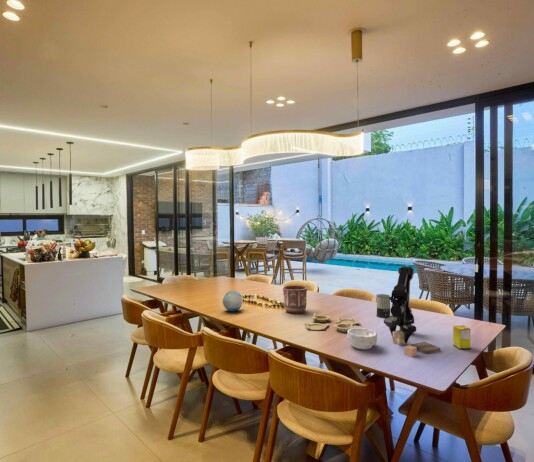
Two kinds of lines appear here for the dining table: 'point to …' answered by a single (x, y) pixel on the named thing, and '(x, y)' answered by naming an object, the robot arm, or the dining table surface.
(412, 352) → the terracotta cube
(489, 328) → the dining table surface
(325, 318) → the tableware set
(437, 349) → the walnut block
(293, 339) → the dining table surface
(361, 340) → the paper bowls
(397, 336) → the oak block
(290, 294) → the pottery
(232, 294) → the decorative ball
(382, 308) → the milk frother
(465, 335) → the supplement box
